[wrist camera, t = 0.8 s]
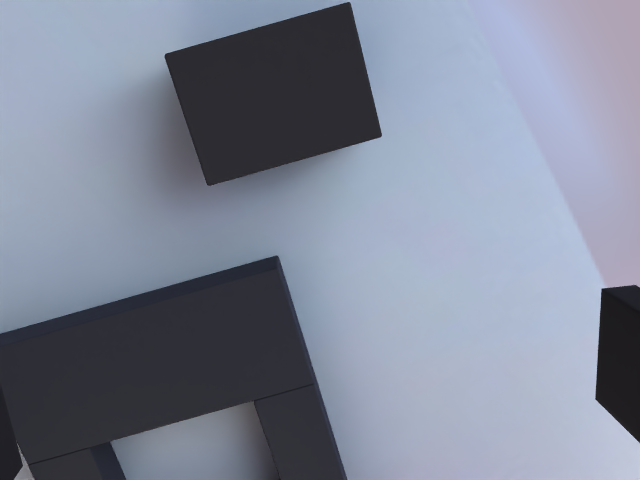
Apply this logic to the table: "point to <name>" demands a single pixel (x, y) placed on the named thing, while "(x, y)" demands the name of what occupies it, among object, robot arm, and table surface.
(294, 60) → the black pad
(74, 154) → the table surface
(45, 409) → the charcoal pad
